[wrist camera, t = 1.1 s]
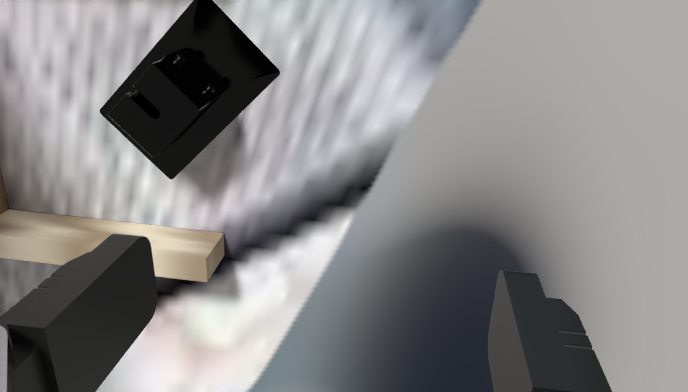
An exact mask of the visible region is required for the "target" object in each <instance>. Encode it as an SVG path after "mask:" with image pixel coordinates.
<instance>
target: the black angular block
mask: <svg viewBox="0 0 688 392" xmlns="http://www.w3.org/2000/svg"><path fill="white" fill-rule="evenodd" d="M279 74H280V71H279V69H278V68H277V67H276V66H275V65H274V64H273V63H272V62H271V61H270V60H269V59H268V58H267V57H266V56H265V55H264V54H263V53H262V52H261V51H260V50H259V49H258V48H257V46H256V45H255V44H254V43H253V42H252V41H251V40H250V39H249V38H248V37H247V36H246V35H245V34H244V33H243V32H242V31H241V30H240V29H239V28H238V27H237V26H236V25H235V24H234V22H233V21H232V20H231V19H230V18H229V17H228V16H227V15H226V14H225V13H224V12H223V11H222V10H221V9H220V8H219V7H218V6H217V5H216V4H215V3H214V2H213V1H212V0H194V1H193V2H192V3H191V4H190V5H189V7H188V8H187V9H186V10H185V11H184V12H183V14H182V15H181V16H180V17H179V18H178V19H177V21H176V22H175V23H174V24H173V25H172V26H171V28H170V29H169V30H168V31H167V32H166V33H165V35H164V36H163V37H162V38H161V39H160V40H159V42H158V43H157V44H156V45H155V46H154V47H153V49H152V50H151V51H150V52H149V53H148V54H147V56H146V57H145V58H144V59H143V60H142V61H141V63H140V64H139V65H138V66H137V67H136V68H135V70H134V71H133V72H132V73H131V74H130V75H129V77H128V78H127V79H126V80H125V81H124V82H123V84H122V85H121V86H120V87H119V88H118V89H117V91H116V92H115V93H114V94H113V95H112V96H111V98H110V99H109V100H108V101H107V102H106V103H105V105H104V106H103V107H102V108H101V109H100V113H101V114H102V115H103V116H104V117H105V118H106V119H107V120H108V121H109V122H110V123H111V124H112V125H113V126H114V127H115V128H116V129H118V130H119V131H120V132H121V133H122V134H123V135H124V136H125V137H126V138H127V139H128V140H129V141H130V142H131V143H132V144H133V145H134V146H135V147H137V148H138V149H139V150H140V151H141V152H142V153H143V154H144V155H145V156H146V157H147V158H148V159H149V160H150V161H151V162H152V163H153V164H154V165H155V166H157V167H158V168H159V169H160V170H161V171H162V172H163V173H164V174H165V175H166V176H167V177H168V178H169V179H173V178H174V177H175V176H176V175H177V174H178V173H179V172H181V171H182V170H183V169H184V168H185V167H186V166H187V165H188V164H189V163H190V162H191V161H192V160H193V159H194V158H195V157H196V156H197V155H198V154H199V153H200V152H201V151H202V150H203V149H204V148H205V147H206V146H207V145H208V144H209V143H210V142H211V141H212V140H213V139H214V138H215V137H216V136H217V135H218V134H219V133H220V132H221V131H222V130H223V129H224V128H225V127H226V126H227V125H228V124H230V123H231V122H232V121H233V120H234V119H235V118H236V117H237V116H238V115H239V114H240V113H241V112H242V111H243V110H244V109H245V108H246V107H247V106H248V105H249V104H250V103H251V102H252V101H253V100H254V99H255V98H256V97H257V96H258V95H259V94H260V93H261V92H262V91H263V90H264V89H265V88H266V87H267V86H268V85H269V84H270V83H271V82H272V81H273V80H274V79H275V78H276V77H278V76H279Z"/></svg>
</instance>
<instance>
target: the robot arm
mask: <svg viewBox="0 0 688 392" xmlns="http://www.w3.org/2000/svg"><path fill="white" fill-rule="evenodd" d="M156 305H157V287H156V279H155V272H154V264H153V256H152V249H151V244H150V241H149V239H148V238H147V237H145V236H135V235H125V234H112V235H110V236H109V237H108V238H106V239H105V240H104V241H103V242H102V243H101V244H99V245H98V246H97V247H96V248H95V249H94V250H92V251H91V252H87V253H85V254H83V255H81V256H79V257H77V258H75V259H73V260H71V261H69V262H66V263H65V264H64V265H63V266H62V267H60V268H59V269H58V270H57V271H56V272H54V273H53V274H52V275H51V278H47V279H46V280H45V281H44V282H42V283H41V284H40V285H39V286H38V289H34V290H33V291H31V292H30V293H29V294H28V295H27V296H25V297H24V298H23V299H22V300H21V301H19V302H18V303H17V304H16V305H15V306H13V307H12V308H11V309H10V310H9V311H7V312H6V313H5V314H4V315H2V316H1V317H0V392H96V390H97V389H98V388H99V386H100V385H101V384H102V382H103V381H104V380H105V379H106V377H107V376H108V375H109V373H110V372H111V371H112V370H113V368H114V367H115V366H116V364H117V363H118V362H119V360H120V359H121V358H122V357H123V355H124V354H125V353H126V351H127V350H128V349H129V348H130V346H131V345H132V344H133V342H134V341H135V340H136V338H137V337H138V336H139V335H140V333H141V332H142V331H143V329H144V328H145V327H146V326H147V324H148V323H149V322H150V320H151V319H152V317H153V315H154V312H155V309H156ZM488 356H489V363H490V369H491V376H492V382H493V388H494V392H612V391H611V388H610V386H609V384H608V382H607V379H606V377H605V375H604V372H603V370H602V368H601V366H600V363H599V361H598V359H597V357H596V354H595V352H594V350H592V345H591V343H590V341H589V338H588V336H586V331H585V329H584V327H583V325H582V322H581V320H580V318H579V316H578V314H576V312H574V311H573V310H572V309H571V308H570V307H569V306H568V305H567V304H566V303H565V302H564V301H563V300H562V299H554V298H546V297H545V294H544V292H543V289H542V286H541V283H540V281H539V278H538V276H537V274H535V273H524V272H513V271H502V270H501V271H500V273H499V275H498V280H497V286H496V291H495V298H494V304H493V310H492V316H491V322H490V328H489V336H488Z"/></svg>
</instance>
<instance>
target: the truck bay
mask: <svg viewBox="0 0 688 392" xmlns="http://www.w3.org/2000/svg"><path fill="white" fill-rule="evenodd" d="M112 234H125V235H135V236H145V237H147V238H148V239H149V241H150V244H151V249H152V256H153V264H154V272H155V276H158V277H166V278H175V279H183V280H192V281H200V282H208V280H209V279H210V277H211V276H212V274H213V272H214V271H215V269H216V268H217V266H218V264H219V263H220V261H221V260H222V258H223V256H224V233H218V232H209V231H200V230H191V229H182V228H173V227H164V226H155V225H146V224H137V223H128V222H119V221H110V220H101V219H92V218H83V217H74V216H65V215H56V214H47V213H38V212H29V211H20V210H11V209H9V208H8V203H7V199H6V194H5V190H4V185H3V180H2V176H1V171H0V258H6V259H15V260H23V261H32V262H40V263H48V264H57V265H64V264H65V263H66V262H69V261H71V260H73V259H75V258H77V257H79V256H81V255H83V254H85V253H87V252H91V251H92V250H94V249H95V248H96V247H97V246H98V245H99V244H101V243H102V242H103V241H104V240H105V239H106V238H108V237H109V236H110V235H112Z"/></svg>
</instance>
